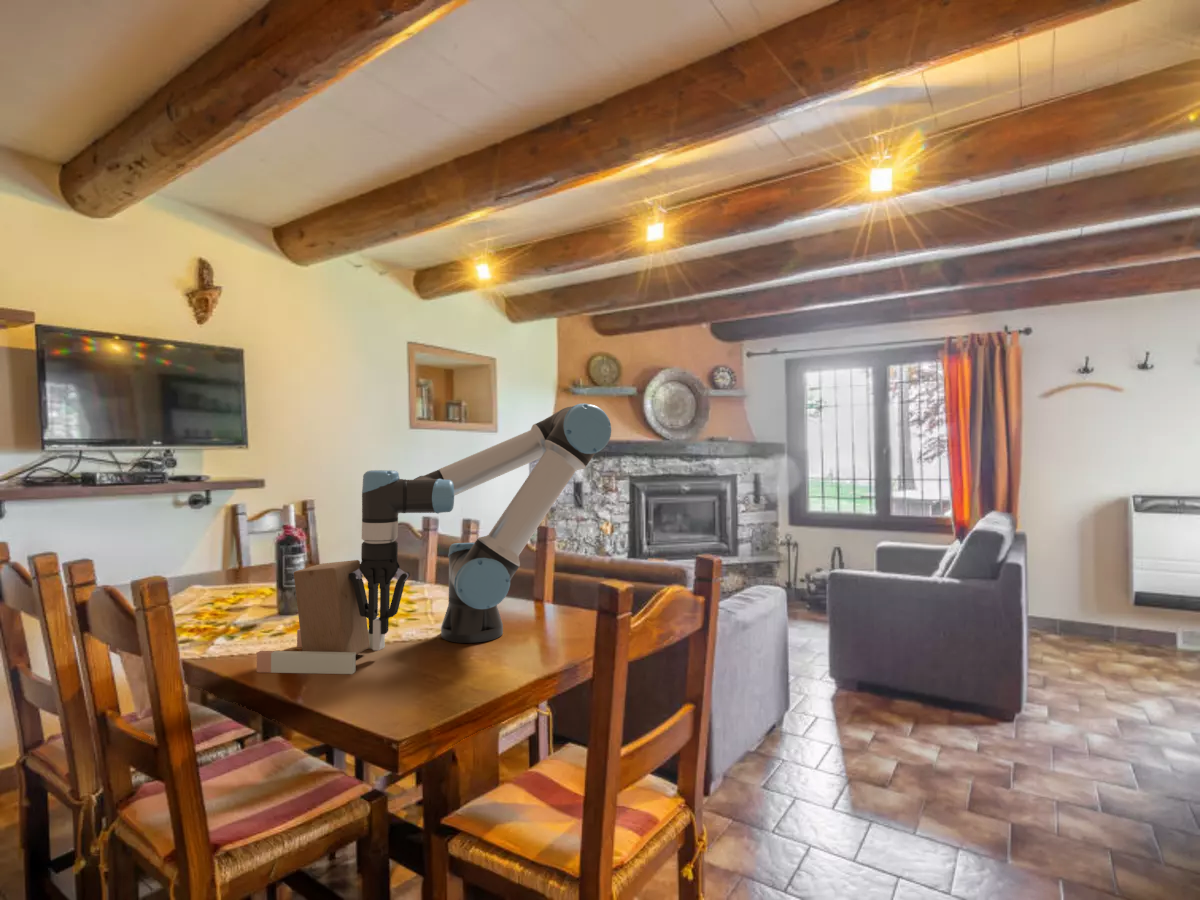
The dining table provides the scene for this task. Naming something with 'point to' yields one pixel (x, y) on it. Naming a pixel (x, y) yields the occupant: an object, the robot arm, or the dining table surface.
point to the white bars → (308, 660)
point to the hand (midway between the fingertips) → (378, 648)
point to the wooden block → (330, 609)
